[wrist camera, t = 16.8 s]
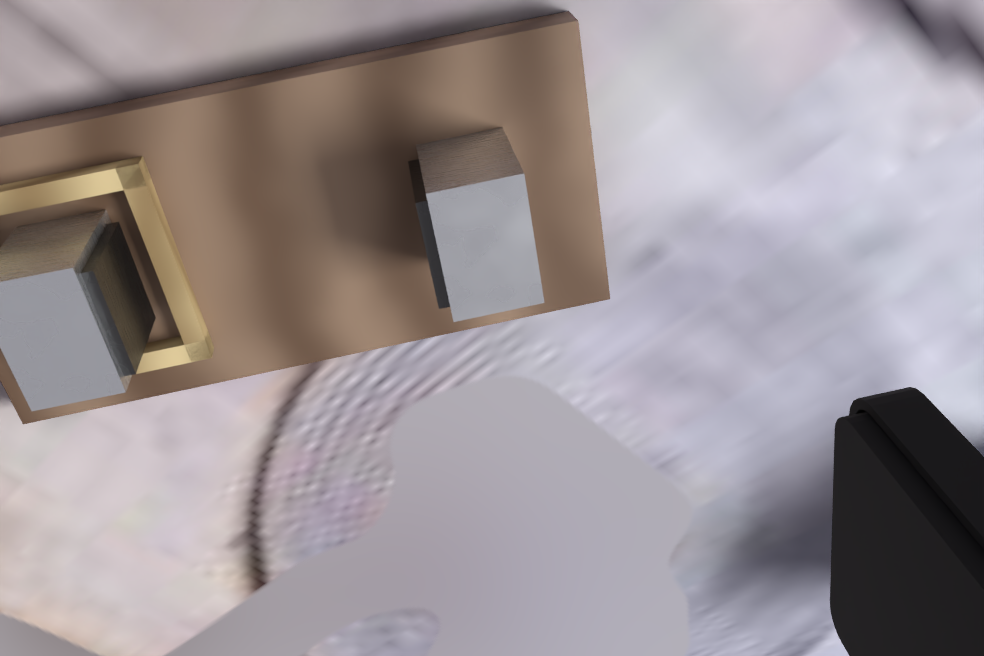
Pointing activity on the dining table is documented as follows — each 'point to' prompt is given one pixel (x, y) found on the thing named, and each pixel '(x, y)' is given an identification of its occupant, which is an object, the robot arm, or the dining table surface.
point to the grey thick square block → (71, 310)
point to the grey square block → (476, 224)
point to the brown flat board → (311, 198)
